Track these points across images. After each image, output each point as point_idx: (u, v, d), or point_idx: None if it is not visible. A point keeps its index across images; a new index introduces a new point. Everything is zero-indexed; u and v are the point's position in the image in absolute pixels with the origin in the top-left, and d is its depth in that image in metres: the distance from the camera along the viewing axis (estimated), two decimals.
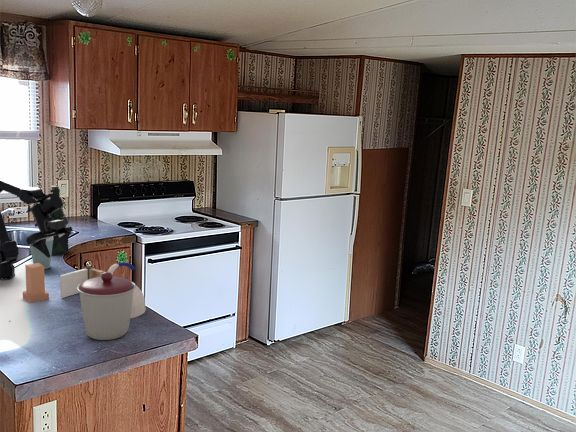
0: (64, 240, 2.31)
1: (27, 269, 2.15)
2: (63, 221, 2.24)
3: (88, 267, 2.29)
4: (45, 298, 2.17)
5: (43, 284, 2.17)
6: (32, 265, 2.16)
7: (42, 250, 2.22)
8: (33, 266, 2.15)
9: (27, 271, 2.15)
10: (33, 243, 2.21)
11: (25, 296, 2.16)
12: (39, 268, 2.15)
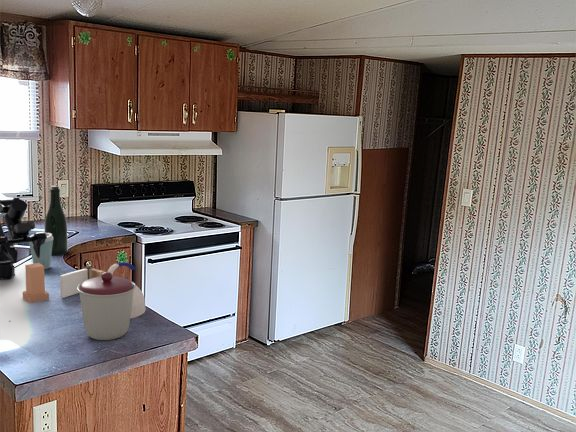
0: (36, 246, 2.26)
1: (27, 269, 2.15)
2: (27, 224, 2.21)
3: (88, 267, 2.29)
4: (45, 298, 2.17)
5: (43, 284, 2.17)
6: (32, 265, 2.16)
7: (8, 255, 2.19)
8: (33, 266, 2.15)
9: (27, 271, 2.15)
10: None
11: (25, 296, 2.16)
12: (39, 268, 2.15)
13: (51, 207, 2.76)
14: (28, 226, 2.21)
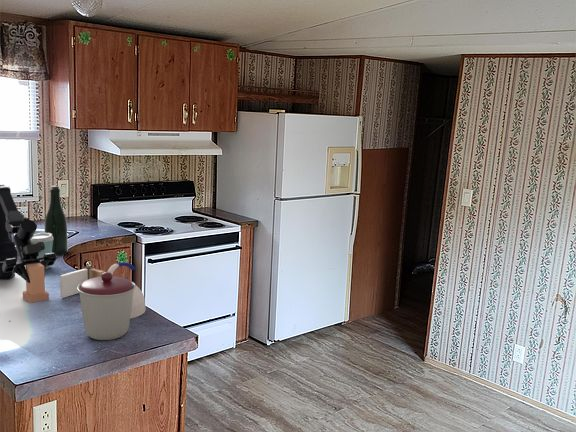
0: None
1: (27, 269, 2.15)
2: (37, 245, 2.15)
3: (88, 267, 2.29)
4: (45, 298, 2.17)
5: (43, 284, 2.17)
6: (32, 265, 2.16)
7: (23, 276, 2.15)
8: (33, 266, 2.15)
9: (27, 271, 2.15)
10: (14, 269, 2.15)
11: (26, 296, 2.16)
12: (39, 268, 2.15)
13: (51, 207, 2.76)
14: (38, 247, 2.15)
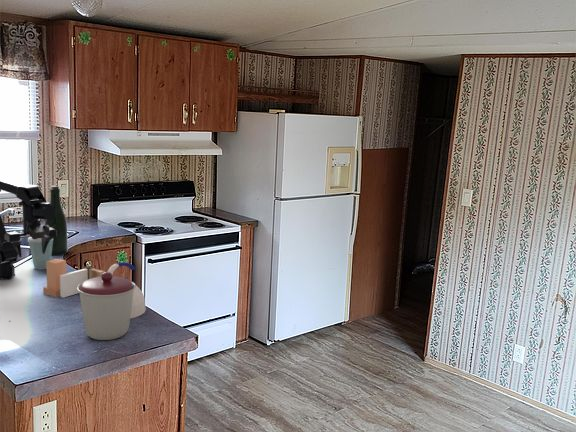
0: (44, 242, 2.35)
1: (49, 265, 2.21)
2: (42, 233, 2.26)
3: (88, 267, 2.29)
4: None
5: None
6: (54, 261, 2.23)
7: (16, 248, 2.28)
8: (56, 261, 2.22)
9: (49, 267, 2.22)
10: None
11: (49, 291, 2.22)
12: (62, 263, 2.23)
13: None
14: (43, 235, 2.26)
